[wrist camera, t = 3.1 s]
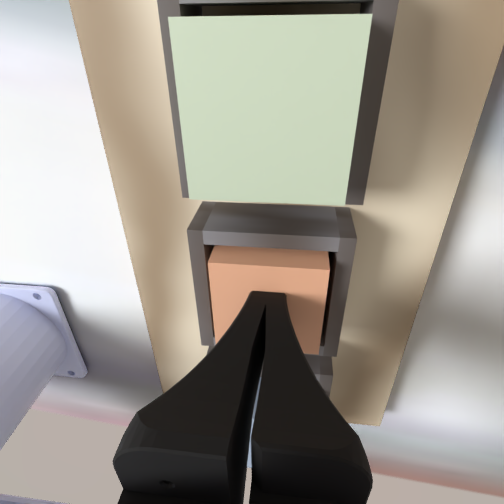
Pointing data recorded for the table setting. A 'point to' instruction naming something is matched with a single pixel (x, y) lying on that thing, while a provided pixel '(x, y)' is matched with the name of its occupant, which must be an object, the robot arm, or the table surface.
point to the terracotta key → (271, 286)
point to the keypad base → (298, 215)
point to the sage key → (269, 104)
